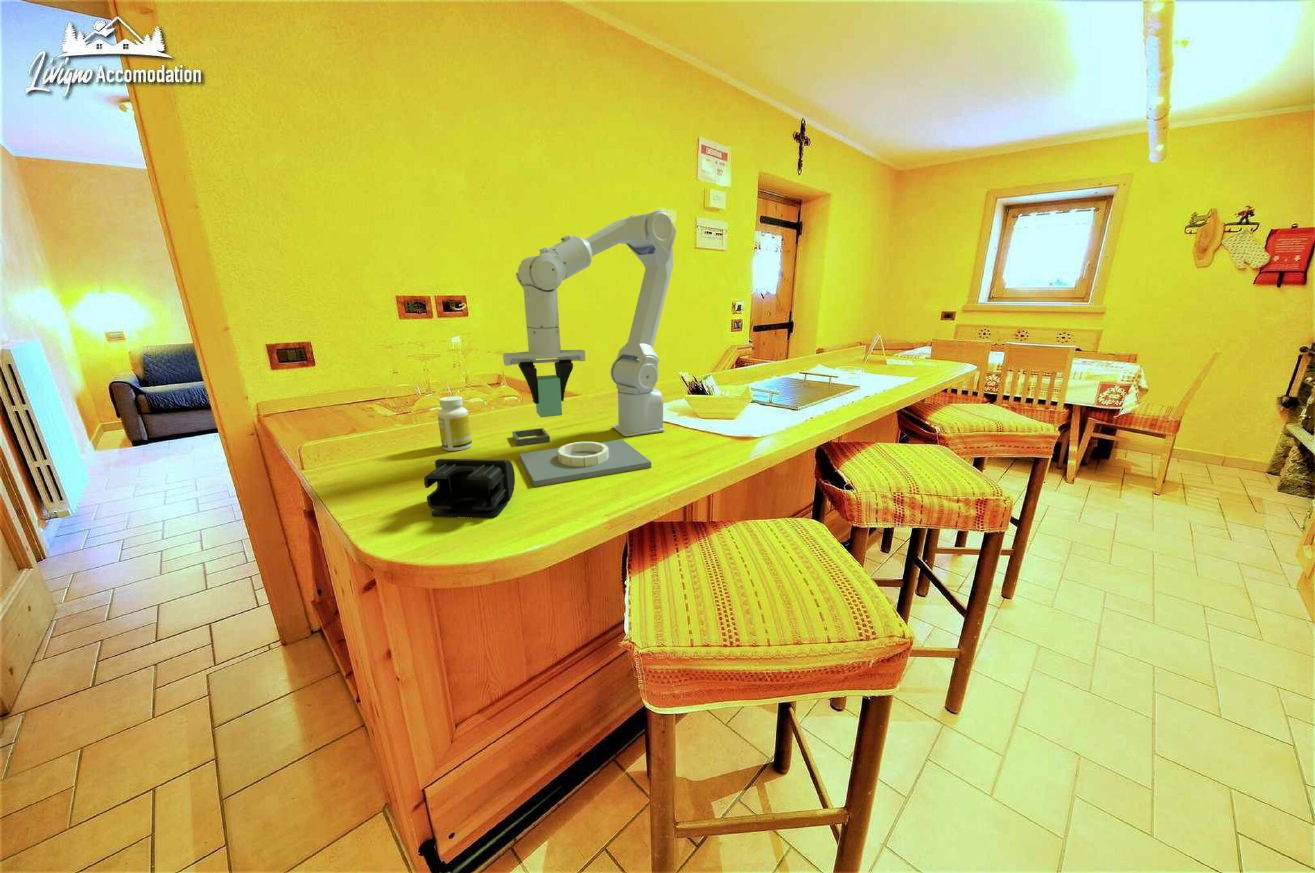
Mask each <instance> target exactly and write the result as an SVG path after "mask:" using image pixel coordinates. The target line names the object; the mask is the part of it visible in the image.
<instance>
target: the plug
mask: <svg viewBox="0 0 1315 873" xmlns="http://www.w3.org/2000/svg"><path fill="white" fill-rule="evenodd" d="M537 390H538V398H539V403H538V404H535V406H536V407H535V408H536V414H537V415H538V417H540V419H541V418H549V417H550V418H551V417H558V416H559V417H560V416H563V406H562V405H563V404H562V401H561V388H560V378H559V377H557V376H556V374H551V375H537Z"/></svg>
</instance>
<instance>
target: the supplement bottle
mask: <svg viewBox="0 0 1315 873" xmlns="http://www.w3.org/2000/svg"><path fill="white" fill-rule="evenodd" d="M463 404H464V402H463V397H462V396H456V395H455V396H454V395H453V396H452V395H451V396H445V397H442V398H439V406H440V408H441V409H440V410H439V411H438V412H437V421H438V427H439V434H440V436H439V437H440V441H441V446H442V450H445V451H448V452H449V451H450V452H454V451H455V452H456V451H463V450H466V449H469V448H471V446H472V444H473V440H472V432H471V426H470V425H471V424H470V419H469V418H470V417H469V412H468V409H466V408H465V407H463Z"/></svg>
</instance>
